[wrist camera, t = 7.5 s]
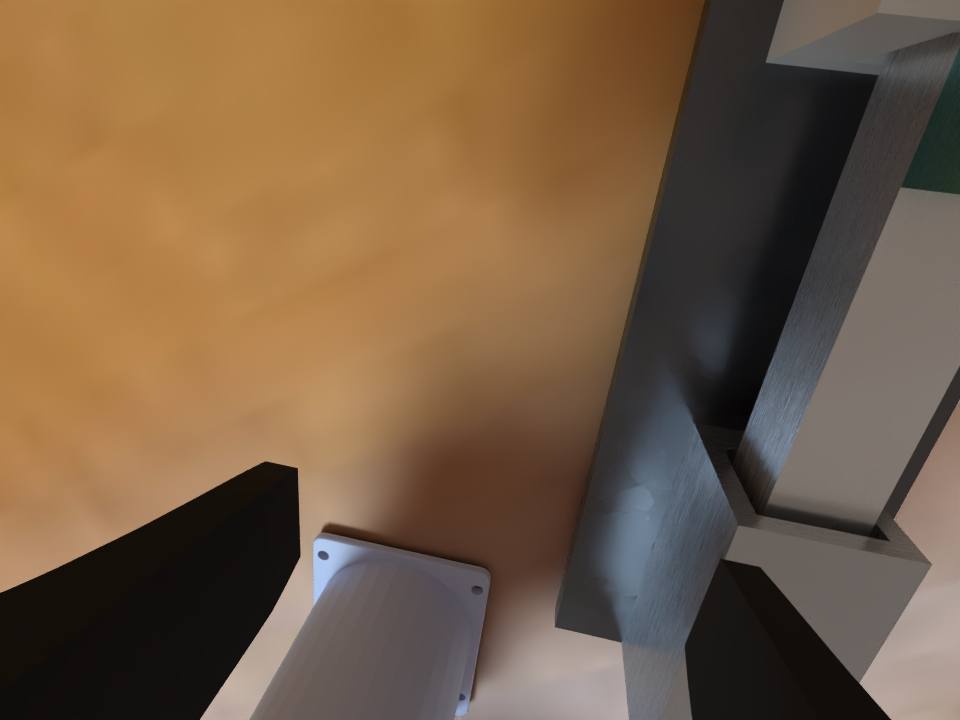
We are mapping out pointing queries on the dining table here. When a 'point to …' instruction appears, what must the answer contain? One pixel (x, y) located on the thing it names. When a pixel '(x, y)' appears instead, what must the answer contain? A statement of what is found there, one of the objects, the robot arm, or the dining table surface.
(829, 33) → the socket
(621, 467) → the grey long angular block
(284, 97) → the dining table surface
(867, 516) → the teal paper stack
